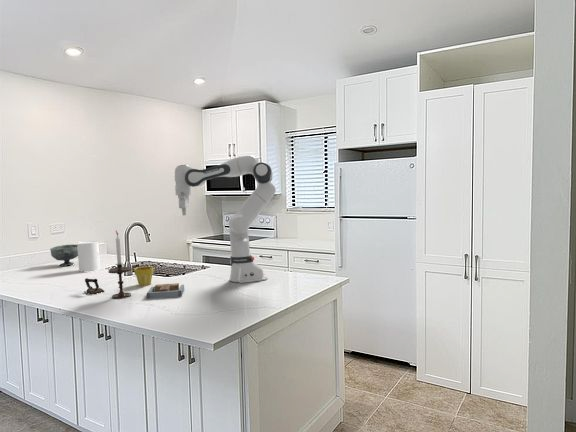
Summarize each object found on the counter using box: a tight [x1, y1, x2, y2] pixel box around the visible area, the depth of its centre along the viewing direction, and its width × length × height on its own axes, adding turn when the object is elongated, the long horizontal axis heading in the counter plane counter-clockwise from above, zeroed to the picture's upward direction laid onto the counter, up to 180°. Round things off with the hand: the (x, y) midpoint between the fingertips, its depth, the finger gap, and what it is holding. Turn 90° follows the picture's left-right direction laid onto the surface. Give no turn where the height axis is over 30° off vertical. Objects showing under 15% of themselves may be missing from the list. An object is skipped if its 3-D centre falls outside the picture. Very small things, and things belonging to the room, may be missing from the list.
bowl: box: [49, 244, 78, 267], centre depth 316 cm, size 20×19×15 cm
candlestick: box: [108, 230, 132, 300], centre depth 214 cm, size 11×11×35 cm
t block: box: [154, 282, 180, 292], centre depth 217 cm, size 12×12×4 cm
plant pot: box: [134, 266, 154, 287], centre depth 241 cm, size 10×10×10 cm
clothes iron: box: [84, 278, 105, 295], centre depth 226 cm, size 7×11×10 cm, turn 58°
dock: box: [146, 284, 185, 300], centre depth 216 cm, size 17×14×3 cm
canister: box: [76, 240, 101, 272], centre depth 292 cm, size 14×14×20 cm
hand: (184, 215), depth 248 cm, fingers closed
